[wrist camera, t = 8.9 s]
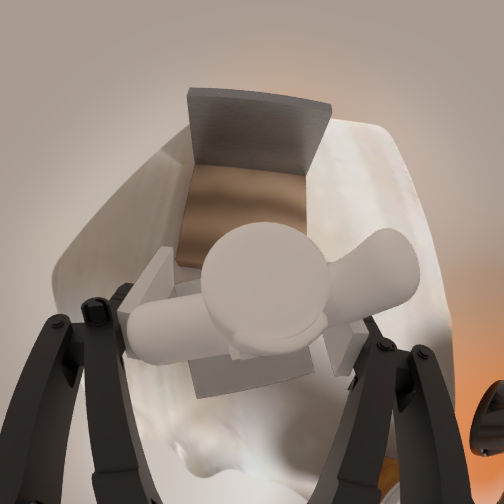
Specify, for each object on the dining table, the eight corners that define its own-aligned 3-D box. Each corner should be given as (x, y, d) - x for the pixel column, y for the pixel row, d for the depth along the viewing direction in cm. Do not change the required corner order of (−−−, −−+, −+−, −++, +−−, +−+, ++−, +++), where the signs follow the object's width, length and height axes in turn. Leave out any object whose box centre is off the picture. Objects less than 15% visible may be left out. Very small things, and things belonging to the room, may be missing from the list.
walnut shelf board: (300, 278, 34) (306, 272, 32) (179, 266, 33) (175, 259, 31) (301, 178, 39) (305, 168, 37) (198, 166, 38) (197, 156, 36)
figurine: (169, 298, 20) (65, 184, 6) (290, 274, 21) (385, 139, 7) (188, 393, 18) (94, 474, 4) (313, 365, 19) (469, 369, 5)
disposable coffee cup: (337, 506, 23) (374, 548, 12) (344, 453, 26) (391, 487, 15) (395, 490, 24) (442, 517, 13) (404, 438, 27) (460, 456, 16)
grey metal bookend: (305, 176, 36) (332, 112, 25) (195, 164, 35) (186, 95, 24) (305, 168, 37) (330, 104, 26) (197, 156, 36) (189, 87, 25)
